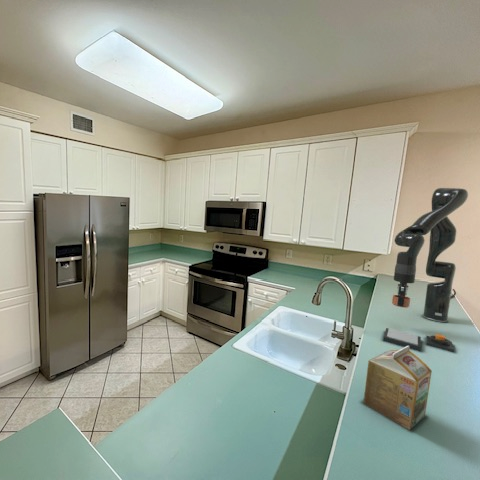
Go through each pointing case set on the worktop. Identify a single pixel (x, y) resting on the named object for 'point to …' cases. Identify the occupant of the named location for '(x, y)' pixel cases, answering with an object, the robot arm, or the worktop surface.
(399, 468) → the worktop surface
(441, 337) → the tare button
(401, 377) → the milk carton
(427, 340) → the block
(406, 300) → the copper cup
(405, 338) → the scale
